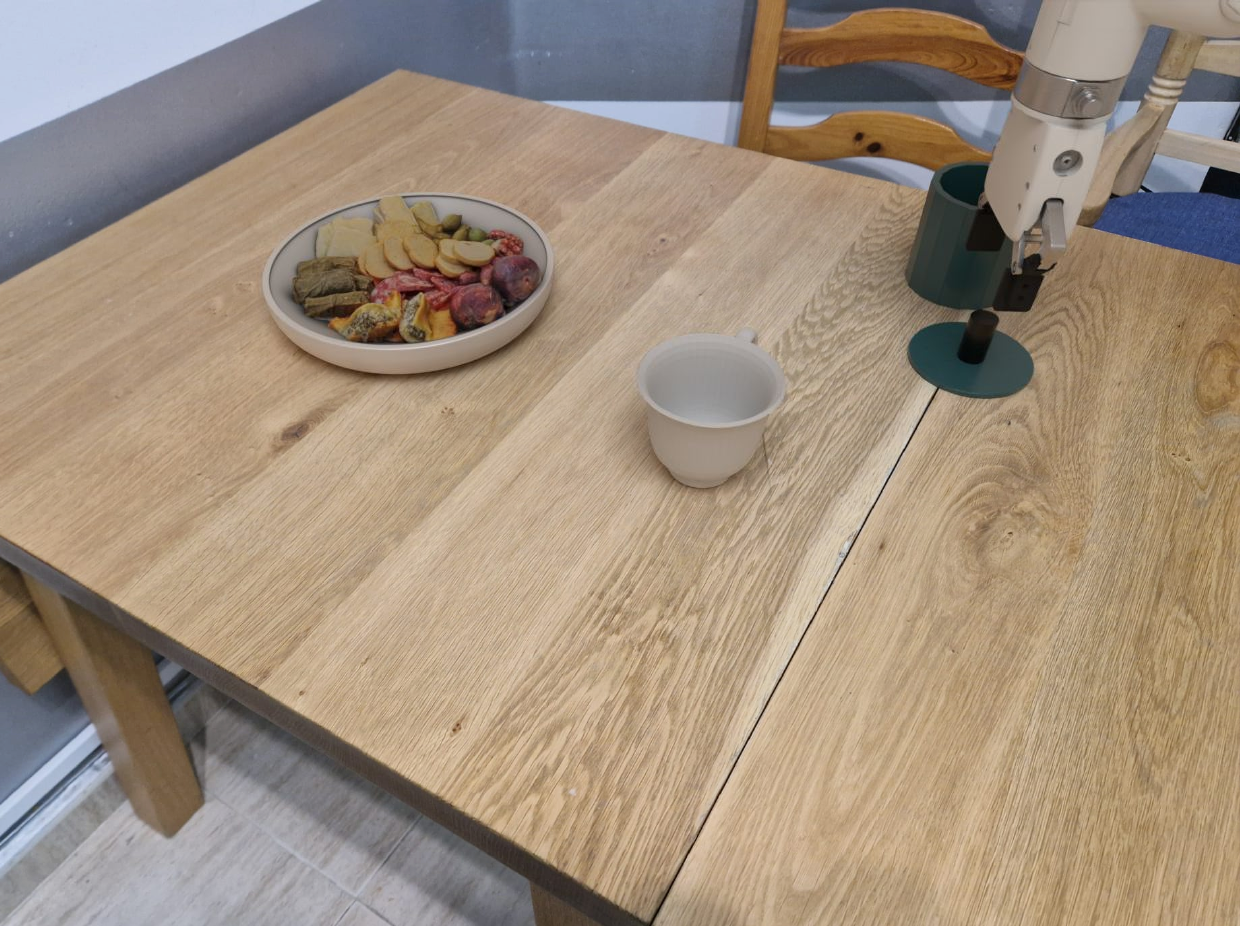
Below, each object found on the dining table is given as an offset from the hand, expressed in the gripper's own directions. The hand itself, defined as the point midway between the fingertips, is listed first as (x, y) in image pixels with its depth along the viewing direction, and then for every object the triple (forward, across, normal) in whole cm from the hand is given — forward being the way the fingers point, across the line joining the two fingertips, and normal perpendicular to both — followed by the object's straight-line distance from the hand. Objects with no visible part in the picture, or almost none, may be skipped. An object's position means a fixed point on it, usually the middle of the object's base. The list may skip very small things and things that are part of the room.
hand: (995, 278), depth 85 cm
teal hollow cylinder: (+10, +14, -2) cm, 17 cm away
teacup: (+10, -14, +26) cm, 31 cm away
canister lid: (+9, 0, 0) cm, 9 cm away
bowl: (+11, +9, +56) cm, 57 cm away
